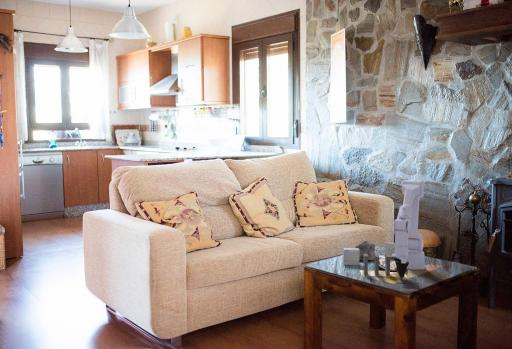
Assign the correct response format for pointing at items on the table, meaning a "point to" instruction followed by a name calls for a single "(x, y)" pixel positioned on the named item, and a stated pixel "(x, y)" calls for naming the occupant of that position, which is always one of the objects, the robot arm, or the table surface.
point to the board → (380, 273)
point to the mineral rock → (366, 250)
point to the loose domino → (400, 277)
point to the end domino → (365, 264)
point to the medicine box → (351, 256)
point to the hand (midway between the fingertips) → (400, 274)
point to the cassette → (389, 248)
